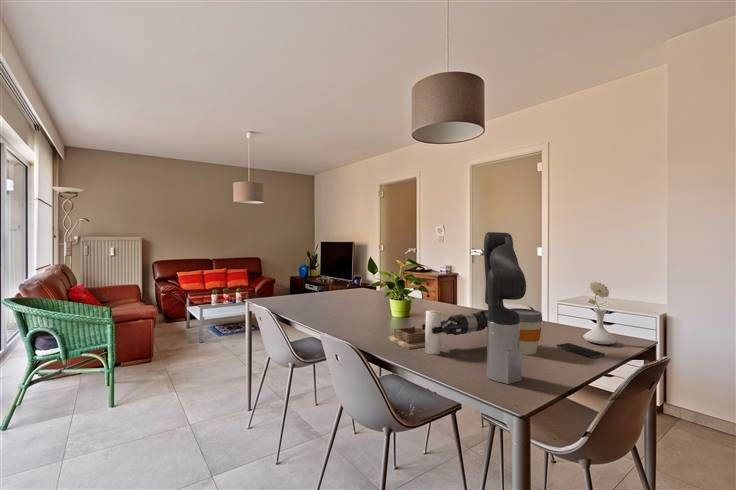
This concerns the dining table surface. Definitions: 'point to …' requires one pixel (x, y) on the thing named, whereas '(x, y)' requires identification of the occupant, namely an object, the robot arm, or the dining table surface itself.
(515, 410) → the dining table surface
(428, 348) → the paper towel roll
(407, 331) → the open wooden box
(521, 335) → the reusable coffee cup
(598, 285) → the flower in vase
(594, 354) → the phone
